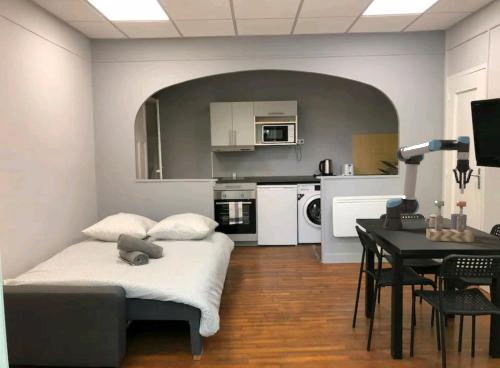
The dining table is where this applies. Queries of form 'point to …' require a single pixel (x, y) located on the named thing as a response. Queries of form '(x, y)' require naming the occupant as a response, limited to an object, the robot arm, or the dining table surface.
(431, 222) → the teacup with lid
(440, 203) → the sage plunger
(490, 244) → the dining table surface
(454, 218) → the container
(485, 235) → the dining table surface
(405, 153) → the robot arm
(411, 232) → the dining table surface
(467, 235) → the press stand
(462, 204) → the terracotta plunger
